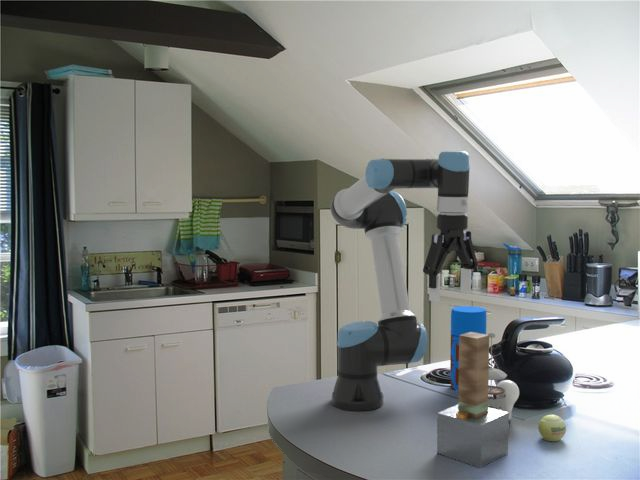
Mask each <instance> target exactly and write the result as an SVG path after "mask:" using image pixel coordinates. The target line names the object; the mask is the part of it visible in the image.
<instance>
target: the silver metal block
mask: <svg viewBox="0 0 640 480" xmlns="http://www.w3.org/2000/svg"><path fill="white" fill-rule="evenodd" d="M436 415H437V420H436V421H437V427H436V431H437V432H436V435H437V436H436V438H437V439H436V440H437V441H436V442H437V443H436V445H437V446H436V454H437V455H440V454H441V455H440V456H443V455H444V456H443V457H446V456H447V458H449V457H450V458H449V459H452V458H453V459H452V460H455V459H456V460H455V461H458V460H460V461H459V462H461V461H462V462H461V463H464V462H465V463H464V464H467V463H468V464H467V465H470V464H472V465H471V466H473V465H475V466H474V467H476V466H478V467H477V468H479V467H482V466H484V465H485V466H487V465H489V464H491V463H492V462H491V461H493V460H495V459H496V460H498V459H500V458H502V457H503V455H504V456H506V455H507V454H509V428H508V426H509V427H510V424H509V423H510V422H509V421H510V420H509V412H505V411H501V410H500V409H499V410H497V409H493V408H489V407H488V414H486V415H483V416H481V417H479V418H474V417H470V416H468V413H466V412H462V411H460V412H458V404H456V405H454V406H451V407H448V408H446V409H444V410H441V411H438V412H437V413H436ZM506 453H507V454H506ZM505 454H506V455H505ZM501 456H502V457H501ZM499 457H500V458H499ZM497 458H498V459H497ZM496 460H495V461H496ZM490 462H491V463H490ZM493 462H494V461H493ZM488 463H489V464H488ZM486 464H487V465H486ZM485 466H484V467H485ZM482 468H483V467H482Z"/></svg>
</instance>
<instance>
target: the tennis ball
mask: <svg viewBox="0 0 640 480" xmlns="http://www.w3.org/2000/svg"><path fill="white" fill-rule="evenodd" d="M537 426H538V427H537V429H538V432H539V434H540V436H541V437H543V440H544V441H547V442H559V441H560V440H561V439H562V438H564V437H565V434H566V431H567V427H566V426H567V425H566V423H565V421H564V419H562V418H561V417H560V416H558V415H556V414H547V415H544V416H543V417H542V418H541V419H540V420H539V422H538V425H537Z"/></svg>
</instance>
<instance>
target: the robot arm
mask: <svg viewBox="0 0 640 480" xmlns="http://www.w3.org/2000/svg"><path fill="white" fill-rule="evenodd" d="M470 166H471V165H470V155H469V153H468V152H467V151H441V152H440V153H439V154H438V159H437V158H436V159H435V158H425V159H424V158H423V159H422V158H420V159H418V158H416V159H413V158H411V159H409V158H408V159H407V158H406V159H405V158H404V159H402V158H401V159H400V158H399V159H398V158H397V159H396V158H379V159H378V158H377V159H371V160H369V161H368V163H367V166H366V167H365V173H364V174H365V175H364V176H362V177H361V178H360V179H358V180H357V181H356V182H355V183H354V184H352V185H351V186H349V188H343V189H341V190H339V191H338V192H337V193H335V195H333V197H332V199H331V202H330V208H329V209H330V213H331V216H332V217H333V219H334V220H335V222H337V223H338V224H339V225H341V226H343V227H345V228H348V229H355V230H356V229H362V230H364V235H365V237H366V238H367V239H369V240H370V241H371V249H372V250H371V251H372V257H373V263H374V271H375V277H376V284H377V290H378V291H377V292H378V296H379V297H378V298H379V304H380V310H381V316H380V318H379V319H378V320H377V323H376V321H375V322H374V321H372V320H371V321H370V320H367V321H363V320H360V321H354V322H350V323H346V324H345V325H342V326H341V327H340V328H339V329H338V331H337V341H336V346H337V347H336V348H337V377H336V381H335V384H334V386H333V387H334V388H333V391H332V393H331V404H332V405H333V406H334V407H336V408H337V409H340V410H341V409H342V410H345V411H346V410H347V411H354V412H355V411H357V412H358V411H370V410H376V409H379V408H380V407H382V406H383V404H384V394H383V392H382V389H381V386H380V382H379V378H378V367H383V366H384V367H385V366H394V365H409V364H412V363H418V362H420V361H422V360H423V358H424V356H425V353H426V351H427V347H428V333H427V329H426V327H425V326H424V324H423V323H421V322H418V319H417V315H415V314H414V313H413V312H412V311H411V309H410V308H411V307H410V302H409V296H408V289H407V284H406V283H407V282H406V277H405V270H404V264H403V258H402V251H401V244H400V239H399V235H400V234H401V233H402V232H403V227H404V226H405V224H406V223H407V219H408V218H407V215H408V210H407V205H406V203H405V200H404V198H403V197H402V196H401V194H399V192H397V191H394V190H396V189H397V190H398V189H399V190H400V189H401V190H402V189H437V201H436V202H437V203H436V204H437V205H436V209H437V210H436V212H437V213H438V214H437V216H436V227H437V229H438V230H440V234H435V233H434V234H432V235H431V243H430V245H429V246H430V247H429V250H428V253H427V257H426V258H425V259H426V260H425V261H424V262H425V263H424V266H423V269H422V272H423V274H425V275H428V289H429V290H428V301H431V302H435V303H436V302H437V303H440V301H441V275H440V274H439V273H440V271H441V269H442V268H443V266H444V263H445V261H446V259H447V256H448V255H449V254H451V252H455V253H456V255H457V257H458V259H459V261H460V263H461V266H462V268H460V290H459V291H460V292H459V293H460V294H463V295H472V272H473V271H472V270H476V268H477V265H478V260H477V256H476V252H475V247H474V245H473V241H472V231H469V230H468V224H469V223H468V220H469V217H468V215H467V213H468V212H469V211H468V210H469V188H470V187H469V186H470V185H469V184H470V169H471V168H470Z"/></svg>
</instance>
